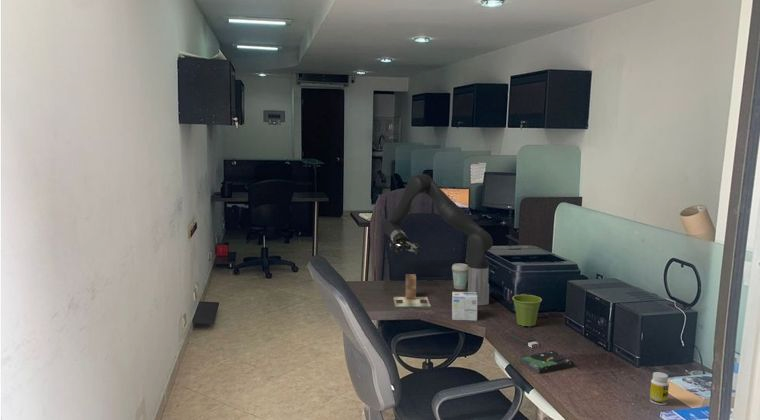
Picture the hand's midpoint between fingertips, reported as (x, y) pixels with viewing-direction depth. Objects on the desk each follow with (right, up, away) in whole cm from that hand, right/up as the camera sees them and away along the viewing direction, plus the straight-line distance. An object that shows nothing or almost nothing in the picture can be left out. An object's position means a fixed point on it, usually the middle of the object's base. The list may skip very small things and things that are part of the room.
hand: (409, 253), depth 271 cm
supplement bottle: (+68, -36, -101) cm, 128 cm away
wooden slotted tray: (+1, -23, -7) cm, 24 cm away
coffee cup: (+27, -20, +22) cm, 40 cm away
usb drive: (+41, -30, -53) cm, 74 cm away
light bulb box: (+22, -26, -25) cm, 43 cm away
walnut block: (+1, -21, -2) cm, 21 cm away
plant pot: (+47, -27, -33) cm, 63 cm away
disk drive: (+43, -33, -74) cm, 92 cm away
